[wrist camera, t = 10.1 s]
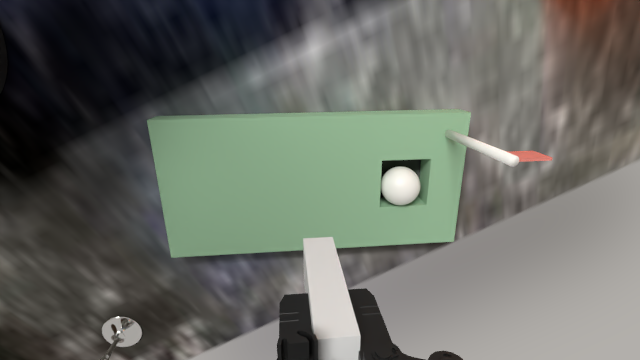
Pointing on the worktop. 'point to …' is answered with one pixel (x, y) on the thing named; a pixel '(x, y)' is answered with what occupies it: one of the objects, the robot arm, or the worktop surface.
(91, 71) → the worktop surface
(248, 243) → the putting deck
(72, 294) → the worktop surface
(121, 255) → the worktop surface
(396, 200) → the ball
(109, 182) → the worktop surface
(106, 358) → the wineglass
